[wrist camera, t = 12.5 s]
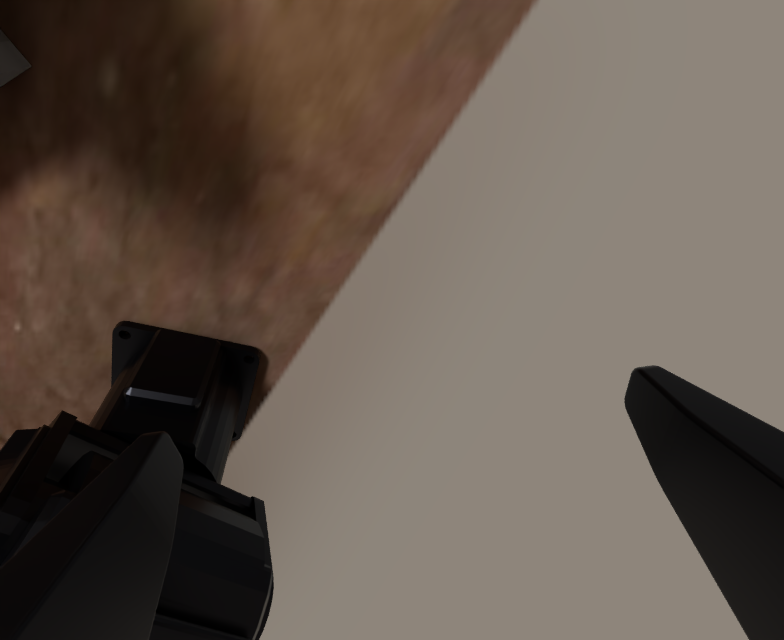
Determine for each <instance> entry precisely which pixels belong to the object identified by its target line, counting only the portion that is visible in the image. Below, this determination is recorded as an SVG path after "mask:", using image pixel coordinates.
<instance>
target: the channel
mask: <svg viewBox="0 0 784 640" xmlns="http://www.w3.org/2000/svg"><path fill="white" fill-rule="evenodd" d="M30 67H32V66H31V65H30V64H29V62H28V61H27V60H26V59H25V58H24V57H23V55H22V54H21V53H20V52H19V51H18V49H17V48H16V47H15V46H14V45H13V43H12V42H11V41H10V40H9V39H8V38H7V36H6V35H5V34H4V33H3V32H2V30H1V29H0V87H1V86H3V85H4V84H6V83H7V82H9V81H10V80H12V79H13V78H15V77H16V76H18V75H19V74H21V73H22V72H24V71H25V70H27V69H28V68H30Z"/></svg>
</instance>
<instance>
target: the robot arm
mask: <svg viewBox="0 0 784 640" xmlns="http://www.w3.org/2000/svg"><path fill="white" fill-rule="evenodd" d="M123 330H125V331H127V332H129V333H130V334H126V333H124V332H123ZM246 356H252V357H253V358H247V357H246ZM259 361H260V352H259V350H258V349H256V348H254V347H252V346H247V345H242V344H237V343H232V342H227V341H222V340H218V339H213V338H208V337H203V336H198V335H193V334H188V333H183V332H179V331H174V330H169V329H164V328H159V327H154V326H149V325H145V324H140V323H135V322H130V321H122V322H119V323H118V324H117V325H116V327H115V328H114V330H113V336H112V383H111V389H110V391H109V392H108V394H107V396H106V397H105V399H104V401H103V403H102V404H101V406H100V408H99V409H98V411H97V413H96V414H95V416H94V418H93V419H92V421H91V423H90V424H89V425H87V424H84V423H82V422H80V421H78V420H76V419H77V417H76V416H73V415H71V414H69V413H67V412H65V411H61V412H60V413H59V415H58V416H57V417H56V418H55V419H54V420H53V421H52V423H51V424H50V425H49V426H47V425H43V426H42V427H39V428H38V429H26V430H16V431H15V432H14V433H13V435H12V436H11V437H10V438H9V439H8V441H7V442H6V443H5V445H4V446H3V447H2V449H1V450H0V640H259V638H260V636H261V634H262V632H263V630H264V627H265V624H266V621H267V618H268V616H269V611H270V607H271V603H272V597H273V589H274V583H273V571H272V562H271V555H270V546H269V538H268V530H267V522H266V514H265V506H264V501H262V500H260V499H258V498H256V497H253V496H252V497H251V498H250V497H247V496H245V495H243V494H241V493H238V492H236V491H234V490H232V489H230V488H227V487H225V486H223V485H221V480H222V476H223V472H224V468H225V464H226V460H227V456H228V452H229V448H230V444H231V441H235V440H238V439H239V438H240V437H241V434H242V430H243V426H244V422H245V418H246V414H247V410H248V406H249V402H250V398H251V393H252V389H253V385H254V381H255V377H256V373H257V369H258V365H259ZM625 407H626V410H627V413H628V415H629V417H630V419H631V422H632V424H633V426H634V429H635V431H636V433H637V436H638V438H639V440H640V442H641V445H642V447H643V449H644V451H645V454H646V456H647V458H648V460H649V463H650V465H651V467H652V469H653V472H654V473H655V476H656V478H657V480H658V482H659V484H660V485H661V487H662V489H663V491H664V493H665V495H666V496H667V498H668V500H669V501H670V503H671V505H672V507H673V508H674V510H675V512H676V514H677V515H678V517H679V519H680V521H681V522H682V524H683V526H684V527H685V529H686V531H687V533H688V534H689V536H690V538H691V540H692V541H693V543H694V545H695V546H696V548H697V550H698V552H699V553H700V555H701V557H702V559H703V560H704V562H705V564H706V565H707V567H708V569H709V571H710V572H711V574H712V576H713V578H714V580H715V581H716V583H717V585H718V586H719V588H720V590H721V592H722V594H723V595H724V597H725V599H726V600H727V602H728V604H729V606H730V607H731V609H732V611H733V613H734V614H735V616H736V618H737V620H738V621H739V623H740V625H741V627H742V628H743V630H744V632H745V633H746V635H747V637H748V639H749V640H784V432H783V431H781V430H779V429H777V428H775V427H773V426H771V425H769V424H767V423H765V422H763V421H762V420H760V419H758V418H756V417H754V416H752V415H750V414H748V413H747V412H745V411H743V410H741V409H739V408H737V407H735V406H733V405H731V404H729V403H728V402H726V401H724V400H722V399H720V398H718V397H716V396H714V395H712V394H711V393H709V392H707V391H705V390H703V389H701V388H699V387H697V386H695V385H693V384H691V383H690V382H688V381H686V380H684V379H682V378H680V377H678V376H676V375H675V374H673V373H671V372H668V371H667V370H665V369H663V368H661V367H659V366H645V367H638V368H635V369H634V370H633V371H632V373H631V377H630V380H629V384H628V388H627V391H626V395H625Z"/></svg>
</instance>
